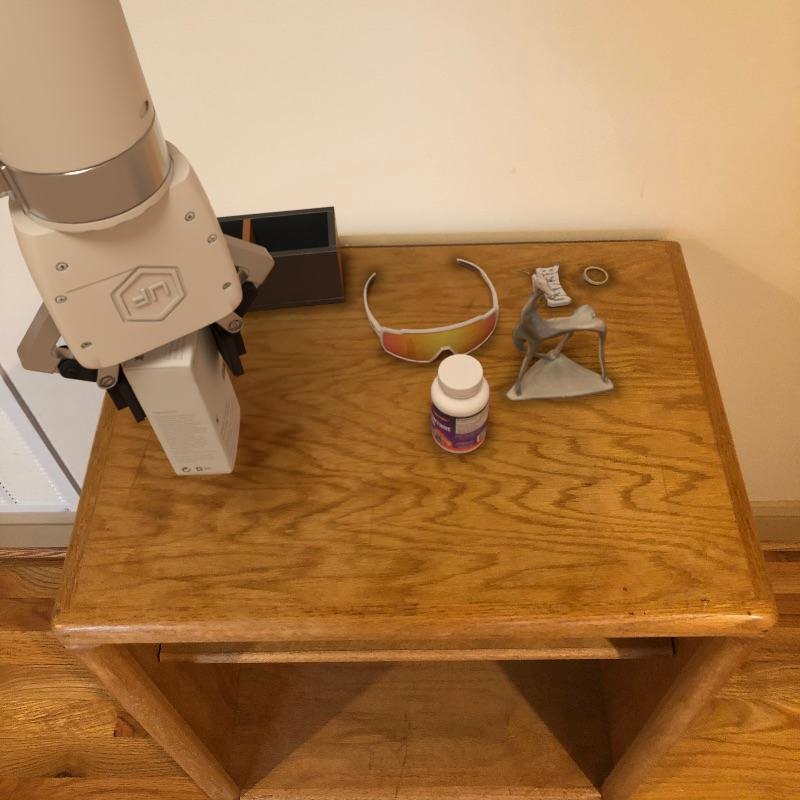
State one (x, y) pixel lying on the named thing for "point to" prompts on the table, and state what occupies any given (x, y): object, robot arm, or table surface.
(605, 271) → the ring
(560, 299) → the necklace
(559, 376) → the figurine
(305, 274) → the caddy
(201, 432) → the cosmetic box
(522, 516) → the table surface
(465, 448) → the pill bottle
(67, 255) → the robot arm
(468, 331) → the sunglasses
